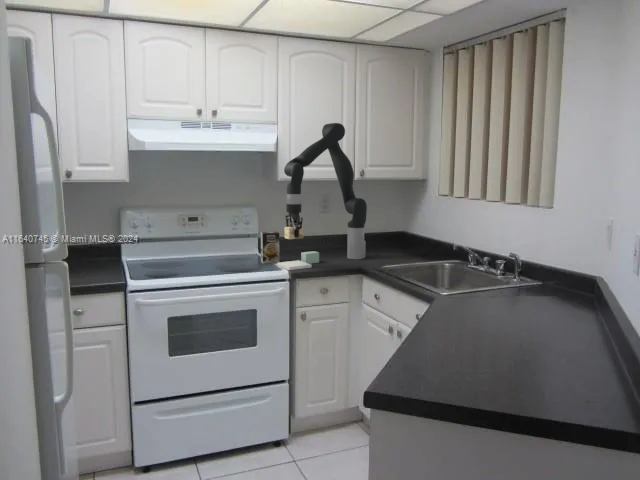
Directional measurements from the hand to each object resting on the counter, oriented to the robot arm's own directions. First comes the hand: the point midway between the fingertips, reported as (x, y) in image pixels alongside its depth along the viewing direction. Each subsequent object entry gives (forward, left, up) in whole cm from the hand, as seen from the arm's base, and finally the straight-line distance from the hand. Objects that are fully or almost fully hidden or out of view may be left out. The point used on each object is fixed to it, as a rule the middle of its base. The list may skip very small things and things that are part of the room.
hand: (293, 236), depth 267 cm
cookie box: (+5, -16, -16) cm, 23 cm away
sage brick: (-13, -5, -16) cm, 21 cm away
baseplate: (0, 0, -15) cm, 15 cm away
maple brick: (0, 0, -1) cm, 1 cm away
